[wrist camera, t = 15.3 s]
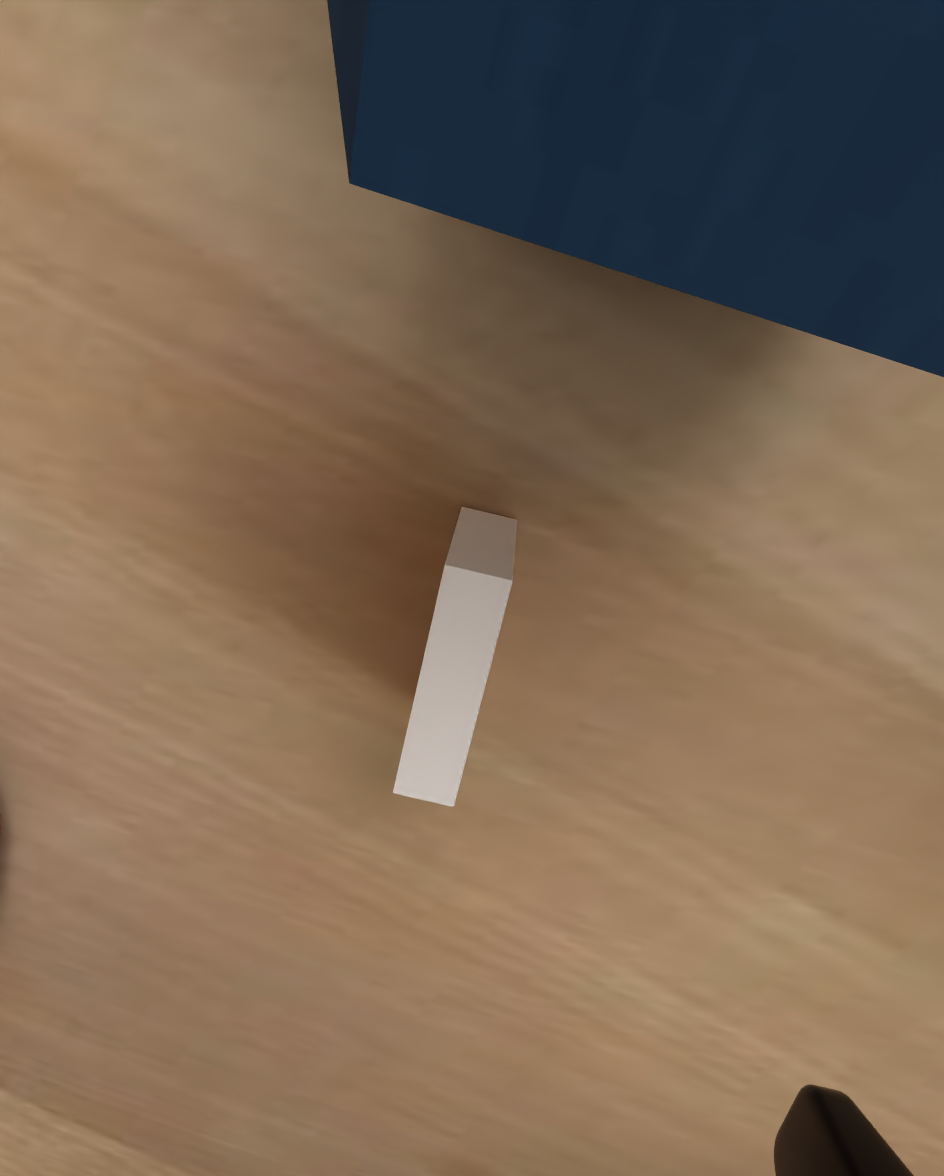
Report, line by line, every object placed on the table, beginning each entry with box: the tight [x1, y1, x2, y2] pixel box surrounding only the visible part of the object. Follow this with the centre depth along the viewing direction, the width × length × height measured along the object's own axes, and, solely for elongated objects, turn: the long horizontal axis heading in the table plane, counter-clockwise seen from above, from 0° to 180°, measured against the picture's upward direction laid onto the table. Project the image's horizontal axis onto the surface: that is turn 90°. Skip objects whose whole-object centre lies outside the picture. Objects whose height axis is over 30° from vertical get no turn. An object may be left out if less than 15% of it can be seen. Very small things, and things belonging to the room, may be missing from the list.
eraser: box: [393, 507, 517, 807], centre depth 18 cm, size 1×5×4 cm, turn 167°
